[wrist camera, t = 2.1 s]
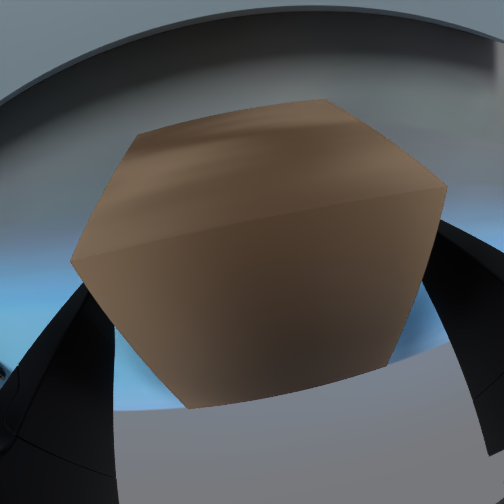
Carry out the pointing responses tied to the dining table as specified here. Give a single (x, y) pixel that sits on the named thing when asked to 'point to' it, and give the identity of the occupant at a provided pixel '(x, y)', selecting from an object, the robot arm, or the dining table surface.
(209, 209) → the walnut cube
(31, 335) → the dining table surface
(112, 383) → the robot arm
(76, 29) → the slate board
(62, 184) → the dining table surface
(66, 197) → the dining table surface
